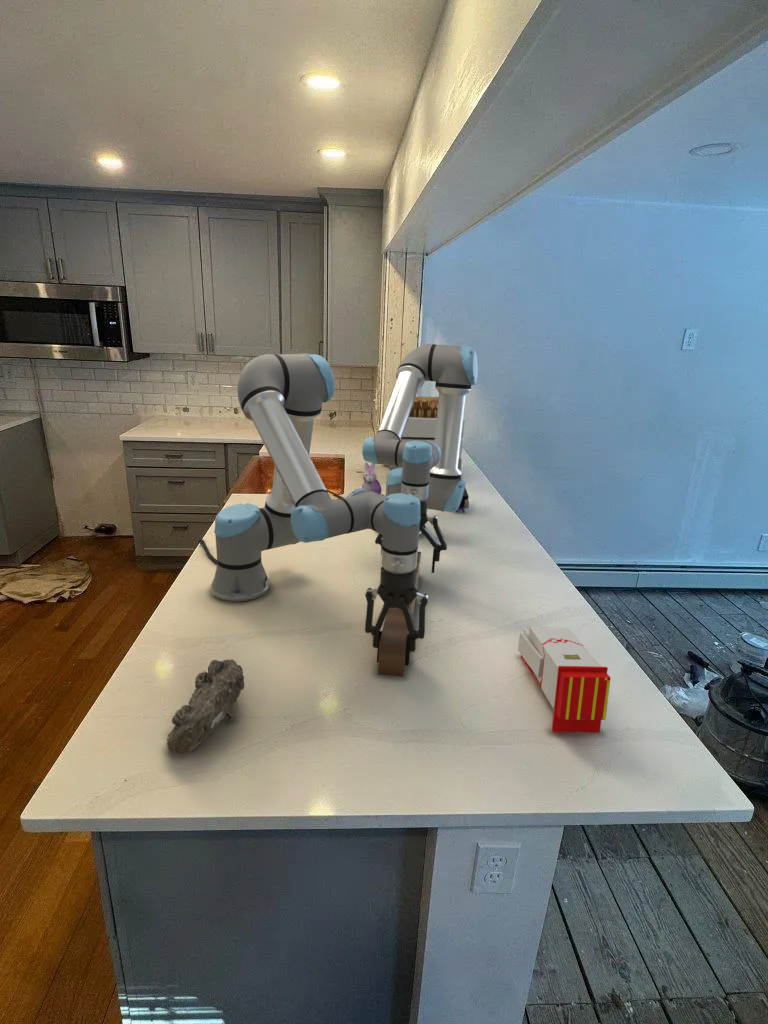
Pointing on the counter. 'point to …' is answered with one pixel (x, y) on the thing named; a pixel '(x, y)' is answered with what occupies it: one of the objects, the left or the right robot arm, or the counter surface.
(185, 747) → the fossil
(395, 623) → the bar
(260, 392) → the left robot arm
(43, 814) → the counter surface
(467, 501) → the figurine character
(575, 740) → the counter surface
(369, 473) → the figurine
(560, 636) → the toy
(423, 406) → the white wooden crate
